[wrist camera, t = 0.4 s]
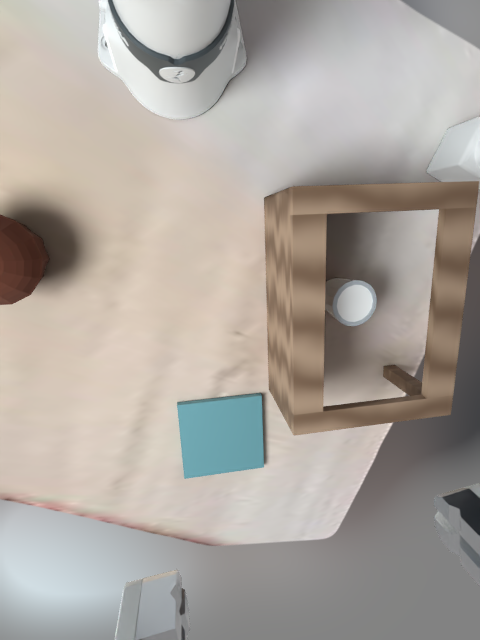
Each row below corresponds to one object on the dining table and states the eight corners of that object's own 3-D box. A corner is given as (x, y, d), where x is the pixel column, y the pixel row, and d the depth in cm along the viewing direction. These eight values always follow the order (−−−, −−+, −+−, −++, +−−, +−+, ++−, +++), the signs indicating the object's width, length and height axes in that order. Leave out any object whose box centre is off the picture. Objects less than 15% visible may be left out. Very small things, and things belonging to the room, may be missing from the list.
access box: (264, 197, 52) (292, 186, 38) (407, 192, 55) (479, 180, 42) (268, 389, 60) (293, 435, 46) (393, 375, 63) (450, 414, 50)
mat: (177, 402, 58) (177, 405, 57) (260, 393, 60) (261, 395, 59) (184, 474, 61) (184, 478, 60) (262, 463, 63) (263, 467, 62)
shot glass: (355, 312, 59) (377, 322, 52) (316, 318, 58) (333, 329, 51) (354, 271, 57) (377, 277, 50) (313, 277, 56) (331, 283, 49)
